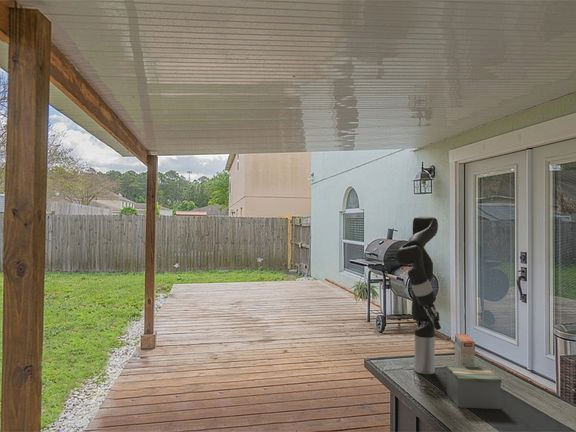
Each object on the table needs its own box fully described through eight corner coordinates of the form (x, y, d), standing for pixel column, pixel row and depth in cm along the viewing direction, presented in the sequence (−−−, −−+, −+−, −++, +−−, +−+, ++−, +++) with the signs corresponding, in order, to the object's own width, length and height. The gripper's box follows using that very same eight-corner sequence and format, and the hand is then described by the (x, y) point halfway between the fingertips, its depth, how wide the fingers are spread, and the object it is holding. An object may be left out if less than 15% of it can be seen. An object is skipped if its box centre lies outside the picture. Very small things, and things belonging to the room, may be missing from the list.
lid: (446, 368, 177) (446, 365, 177) (485, 370, 176) (485, 366, 176) (458, 381, 162) (458, 377, 162) (501, 382, 161) (501, 379, 161)
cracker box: (475, 391, 179) (475, 341, 180) (460, 390, 180) (460, 340, 181) (468, 380, 193) (468, 334, 194) (454, 379, 194) (454, 333, 195)
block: (446, 393, 176) (446, 369, 177) (486, 395, 175) (486, 370, 176) (458, 407, 162) (458, 380, 163) (500, 409, 161) (500, 382, 162)
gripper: (437, 292, 169) (452, 331, 171) (426, 284, 182) (440, 320, 184) (420, 299, 169) (435, 338, 171) (410, 290, 183) (424, 326, 184)
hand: (438, 328), depth 177 cm, fingers closed
